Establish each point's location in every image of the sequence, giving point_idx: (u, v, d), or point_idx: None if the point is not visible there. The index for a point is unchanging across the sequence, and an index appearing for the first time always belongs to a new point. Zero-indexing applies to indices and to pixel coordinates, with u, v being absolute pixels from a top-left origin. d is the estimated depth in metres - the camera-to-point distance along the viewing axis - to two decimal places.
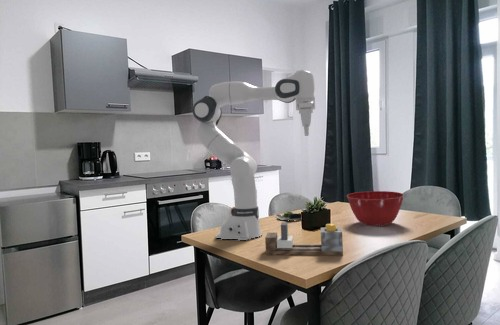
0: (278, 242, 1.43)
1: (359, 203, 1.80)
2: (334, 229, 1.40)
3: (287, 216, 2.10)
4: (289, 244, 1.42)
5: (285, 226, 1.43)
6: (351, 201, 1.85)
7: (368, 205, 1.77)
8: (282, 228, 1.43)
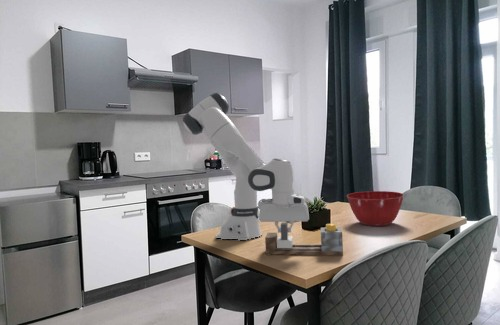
0: (278, 242, 1.43)
1: (359, 203, 1.80)
2: (334, 229, 1.40)
3: None
4: (289, 244, 1.42)
5: (285, 226, 1.43)
6: (351, 201, 1.85)
7: (368, 205, 1.77)
8: (282, 228, 1.43)
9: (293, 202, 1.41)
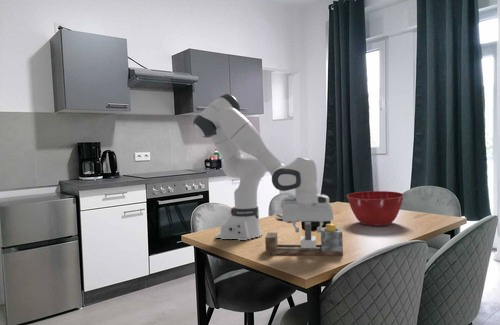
0: (302, 242, 1.41)
1: (359, 203, 1.80)
2: (334, 229, 1.40)
3: None
4: (313, 244, 1.40)
5: (309, 226, 1.41)
6: (351, 201, 1.85)
7: (368, 205, 1.77)
8: (306, 228, 1.41)
9: (317, 202, 1.39)
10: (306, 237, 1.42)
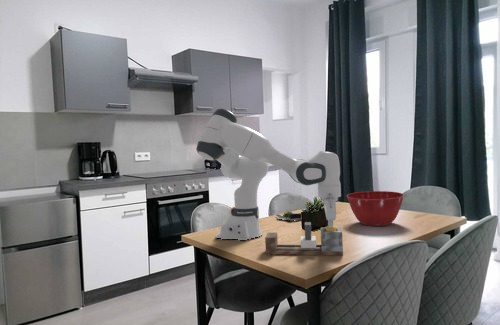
0: (302, 242, 1.41)
1: (359, 203, 1.80)
2: None
3: (287, 216, 2.10)
4: (313, 244, 1.40)
5: (309, 226, 1.41)
6: (351, 201, 1.85)
7: (368, 205, 1.77)
8: (306, 228, 1.41)
9: None
10: (306, 237, 1.42)
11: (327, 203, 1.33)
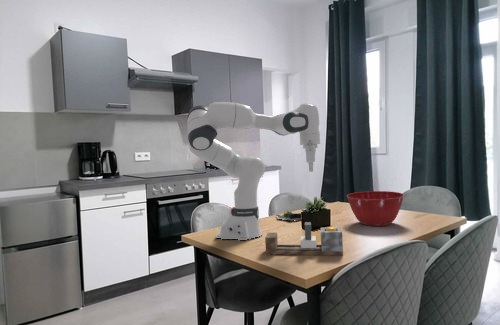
0: (302, 242, 1.41)
1: (359, 203, 1.80)
2: None
3: (287, 216, 2.10)
4: (313, 244, 1.40)
5: (309, 226, 1.41)
6: (351, 201, 1.85)
7: (368, 205, 1.77)
8: (306, 228, 1.41)
9: None
10: (306, 237, 1.42)
11: (307, 147, 1.51)
